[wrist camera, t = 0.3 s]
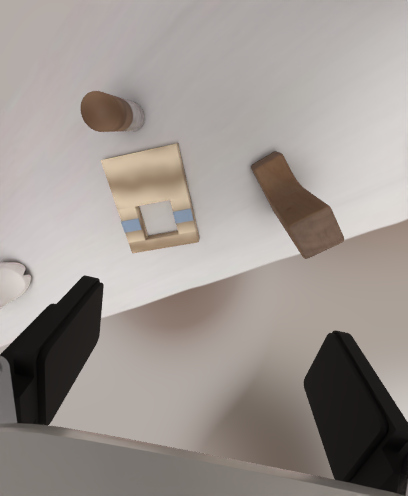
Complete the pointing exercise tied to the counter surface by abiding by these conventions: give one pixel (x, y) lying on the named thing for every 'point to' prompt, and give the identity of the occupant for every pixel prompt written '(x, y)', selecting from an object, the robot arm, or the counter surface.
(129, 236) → the board
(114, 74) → the counter surface
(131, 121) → the two-tone cylinder
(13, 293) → the water bottle
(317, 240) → the wooden block
